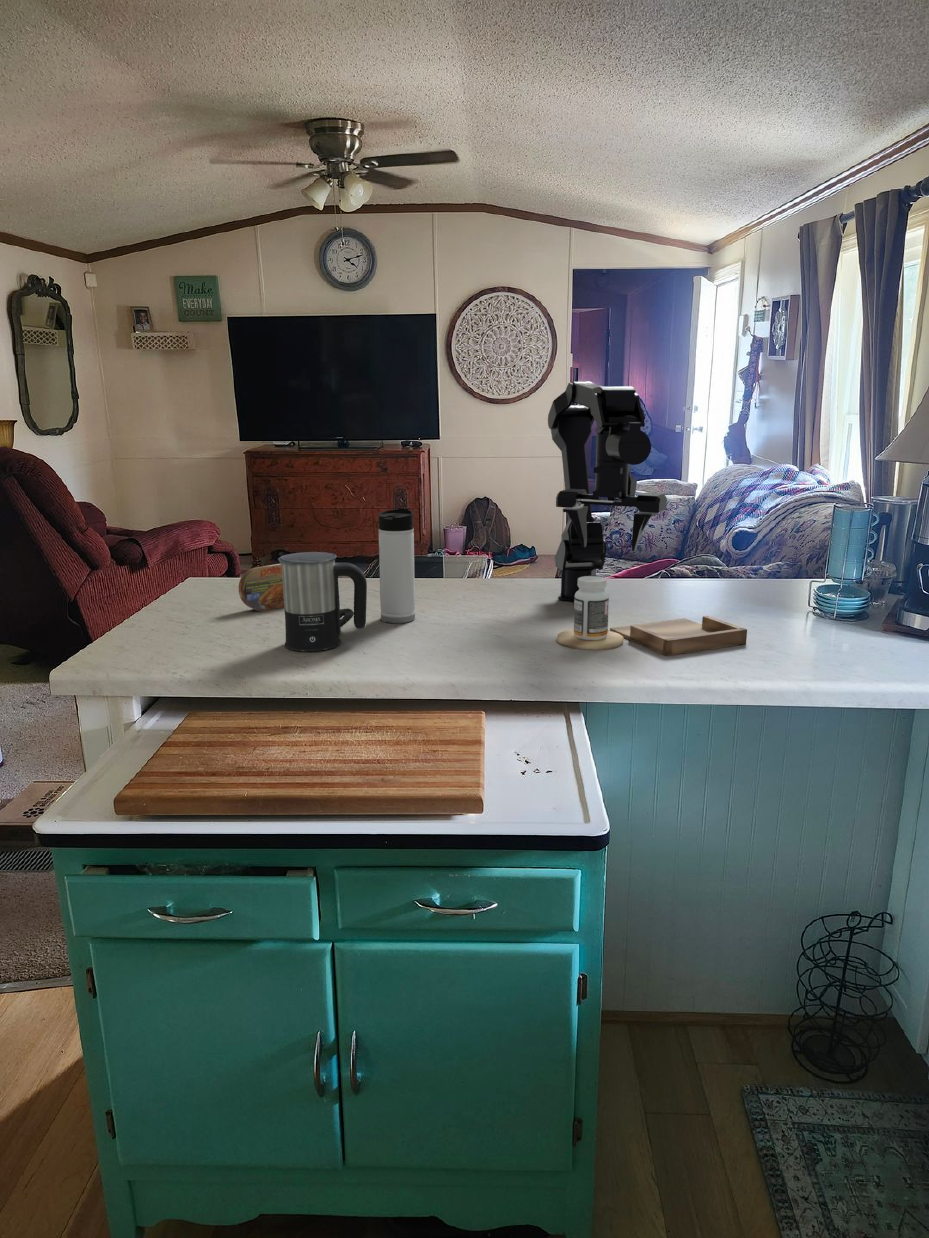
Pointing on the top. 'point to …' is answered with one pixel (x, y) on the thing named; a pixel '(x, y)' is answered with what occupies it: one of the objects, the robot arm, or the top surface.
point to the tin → (262, 588)
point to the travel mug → (396, 566)
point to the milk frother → (318, 600)
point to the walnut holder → (684, 635)
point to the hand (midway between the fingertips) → (608, 548)
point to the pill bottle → (591, 608)
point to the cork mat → (590, 641)
